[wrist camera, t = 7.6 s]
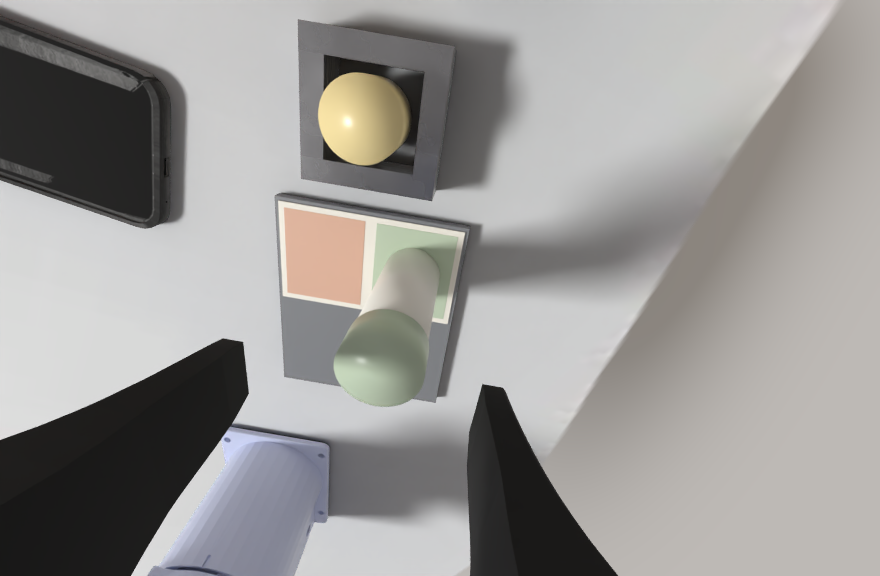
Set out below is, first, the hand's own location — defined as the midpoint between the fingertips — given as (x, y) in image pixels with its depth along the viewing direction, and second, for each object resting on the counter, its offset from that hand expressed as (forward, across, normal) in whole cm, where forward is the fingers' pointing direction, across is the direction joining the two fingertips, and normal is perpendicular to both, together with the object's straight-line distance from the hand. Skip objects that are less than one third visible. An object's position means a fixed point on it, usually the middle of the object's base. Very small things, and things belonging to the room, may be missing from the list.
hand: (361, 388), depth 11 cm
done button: (+9, +2, -7) cm, 12 cm away
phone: (+11, +20, -4) cm, 23 cm away
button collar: (+10, +2, -7) cm, 13 cm away
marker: (+10, 0, +1) cm, 10 cm away
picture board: (+10, +2, +4) cm, 11 cm away
